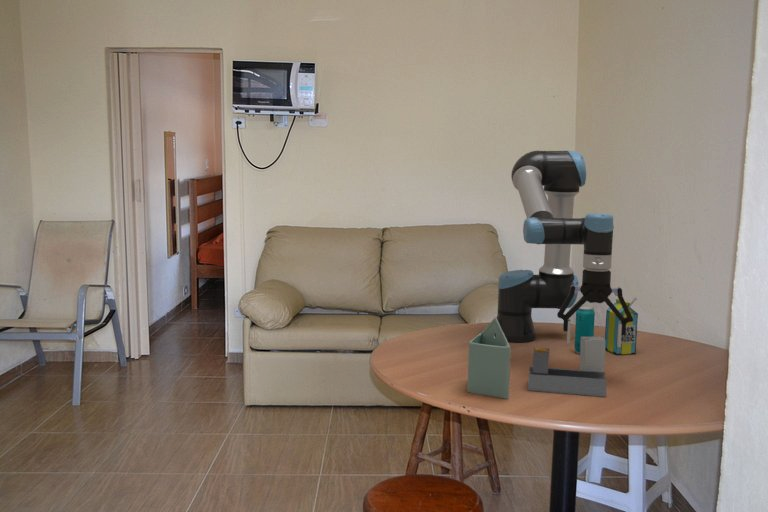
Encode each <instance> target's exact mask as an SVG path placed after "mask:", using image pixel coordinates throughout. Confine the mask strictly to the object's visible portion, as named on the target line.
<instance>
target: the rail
mask: <svg viewBox="0 0 768 512" xmlns="http://www.w3.org/2000/svg"><path fill="white" fill-rule="evenodd" d="M549 355H550V349H549V348H547V347H536V346H535V347H534V348H533V357H532V358H533V359H532V366H530V365H529V370H528V371H529V372H528V379H527V380H528V383H527V384H528V387H527V388H528V389H527V391H530V392H541V393H555V394H565V395H567V394H568V395H576V396H577V395H578V396H593V397H603V398H604V397H605V398H606V397H607V384H608V383H607V382H608V380H607V379H606V378H605V377H606V372H605V371H604V372H597V371H584V370H580V369H570V368H556V367H555V368H554V367H549V361H550V357H549Z"/></svg>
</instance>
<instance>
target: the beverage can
mask: <svg viewBox="0 0 768 512" xmlns="http://www.w3.org/2000/svg"><path fill="white" fill-rule="evenodd" d="M595 315H596V313H595V308H594V306H589V305H582V306H581V307H580V308H579V309H578V310H577V311H576V312H575V328H574V329H575V330H574V350H575V353H576V354H578V355H580V346H581V337H595V335H594V333H595Z"/></svg>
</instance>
